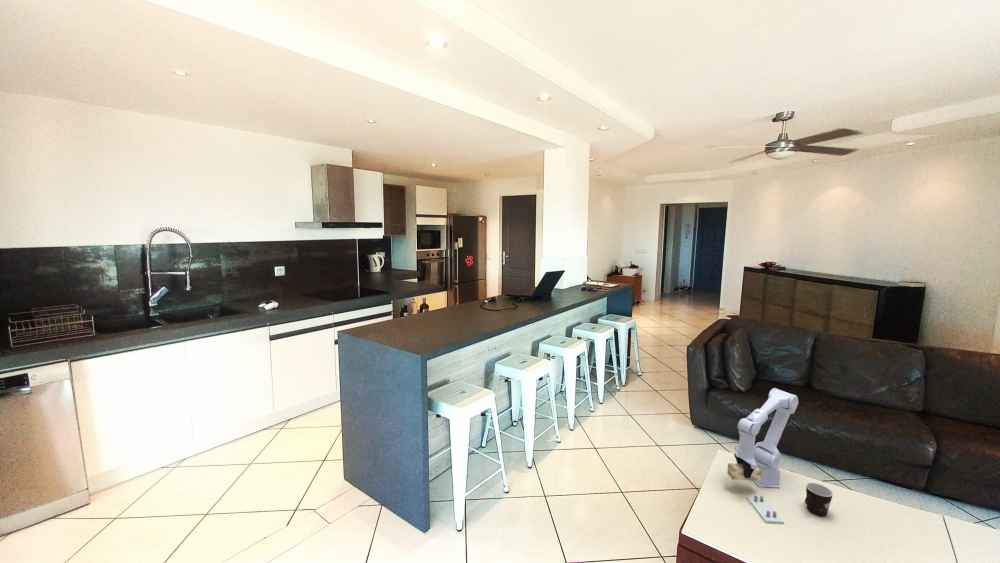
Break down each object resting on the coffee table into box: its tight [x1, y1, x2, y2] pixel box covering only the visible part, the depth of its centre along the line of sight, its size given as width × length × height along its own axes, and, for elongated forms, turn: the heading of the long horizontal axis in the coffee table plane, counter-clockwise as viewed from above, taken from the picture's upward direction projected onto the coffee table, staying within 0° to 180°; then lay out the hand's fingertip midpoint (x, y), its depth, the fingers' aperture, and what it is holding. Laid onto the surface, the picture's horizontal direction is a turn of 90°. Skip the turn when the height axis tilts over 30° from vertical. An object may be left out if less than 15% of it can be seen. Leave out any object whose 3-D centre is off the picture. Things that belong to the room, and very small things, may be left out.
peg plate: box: [746, 495, 785, 525], centre depth 163 cm, size 14×7×3 cm, turn 175°
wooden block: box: [727, 462, 762, 482], centre depth 175 cm, size 12×4×5 cm, turn 86°
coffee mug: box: [804, 482, 834, 518], centre depth 162 cm, size 12×9×10 cm
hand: (744, 474), depth 175 cm, fingers closed on wooden block, 4 cm apart
